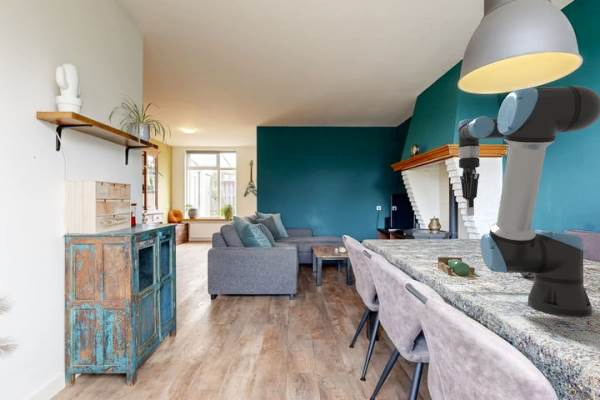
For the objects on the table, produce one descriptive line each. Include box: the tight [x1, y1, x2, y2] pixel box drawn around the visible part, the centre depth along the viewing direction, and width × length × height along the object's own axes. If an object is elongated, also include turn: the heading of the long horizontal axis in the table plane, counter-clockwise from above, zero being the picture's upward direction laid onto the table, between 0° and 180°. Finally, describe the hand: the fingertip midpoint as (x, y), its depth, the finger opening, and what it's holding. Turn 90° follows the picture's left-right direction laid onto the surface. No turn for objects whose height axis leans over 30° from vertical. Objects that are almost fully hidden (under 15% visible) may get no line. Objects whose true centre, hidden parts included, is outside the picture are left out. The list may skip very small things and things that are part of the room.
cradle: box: [437, 256, 482, 280], centre depth 144 cm, size 22×11×6 cm, turn 174°
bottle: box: [448, 259, 470, 276], centre depth 146 cm, size 5×5×15 cm
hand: (469, 215), depth 136 cm, fingers closed
